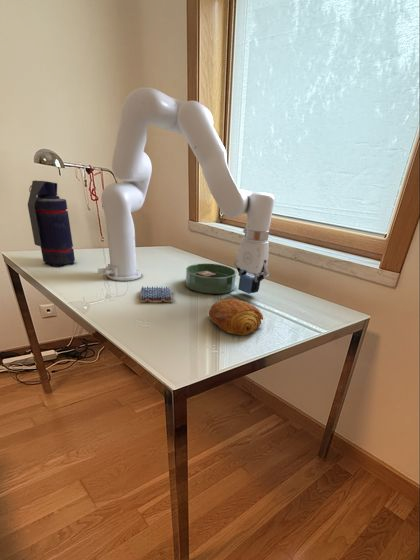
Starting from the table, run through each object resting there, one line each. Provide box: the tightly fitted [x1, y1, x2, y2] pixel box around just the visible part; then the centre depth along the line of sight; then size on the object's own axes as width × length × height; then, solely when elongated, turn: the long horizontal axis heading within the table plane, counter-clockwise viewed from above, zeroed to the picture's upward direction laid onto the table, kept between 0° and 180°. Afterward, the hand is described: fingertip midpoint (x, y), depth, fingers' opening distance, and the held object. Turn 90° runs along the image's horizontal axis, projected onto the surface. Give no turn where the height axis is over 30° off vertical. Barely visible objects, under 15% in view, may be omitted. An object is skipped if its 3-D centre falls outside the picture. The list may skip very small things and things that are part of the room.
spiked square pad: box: [139, 285, 174, 303], centre depth 105 cm, size 10×11×2 cm
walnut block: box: [196, 271, 216, 278], centre depth 114 cm, size 5×5×5 cm
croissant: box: [208, 297, 264, 336], centre depth 89 cm, size 14×16×8 cm
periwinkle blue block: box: [237, 272, 254, 295], centre depth 110 cm, size 5×5×5 cm
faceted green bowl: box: [185, 262, 238, 295], centre depth 117 cm, size 18×18×6 cm
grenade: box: [27, 180, 76, 268], centre depth 123 cm, size 14×12×30 cm
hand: (248, 289), depth 111 cm, fingers closed on periwinkle blue block, 5 cm apart
